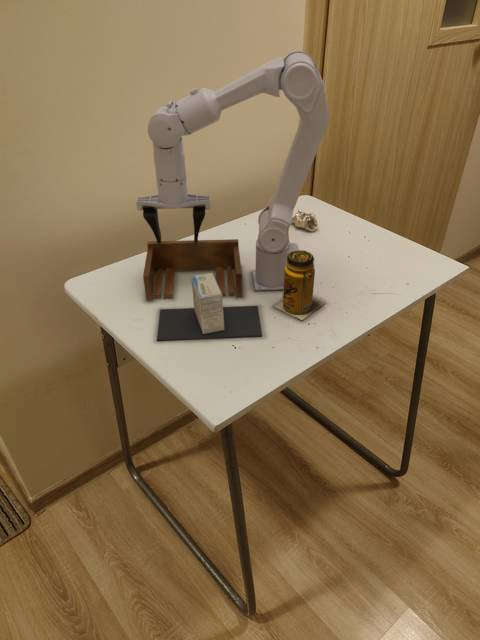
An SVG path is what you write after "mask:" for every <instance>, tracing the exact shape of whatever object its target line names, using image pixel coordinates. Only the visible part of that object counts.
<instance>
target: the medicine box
mask: <svg viewBox="0 0 480 640" xmlns="http://www.w3.org/2000/svg"><path fill="white" fill-rule="evenodd" d="M191 288H192V297H193V298H192V299H193V308H194V309H195V314H196V316H197V319H198V322H199V324H200V327H201V330H202V333H203V334H207V333H213V332H218V331H223V330H224V315H223V307H224V302H223V301H224V299H223V296H222V293H221V290H220V288H219V286H218V284H217V281H216V276H215V275H214V273H203V274H197V275H193V276H191Z"/></svg>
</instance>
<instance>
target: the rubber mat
mask: <svg viewBox="0 0 480 640" xmlns="http://www.w3.org/2000/svg"><path fill="white" fill-rule="evenodd" d="M223 315H224V330H223V331H218V332H213V333H207V334H203V333H202V330H201V327H200V324H199V322H198V319H197V316H196V314H195V309H194V307H189V308H161V309H159V317H158V327H157V335H156V341H157V342H170V341H171V342H172V341H191V340H192V341H193V340H215V339H216V340H217V339H218V340H219V339H239V338H240V339H241V338H262V337H263V332H262V326H261V325H262V324H261V318H260V312H259V306H258V305H241V306H240V305H239V306H223Z"/></svg>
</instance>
